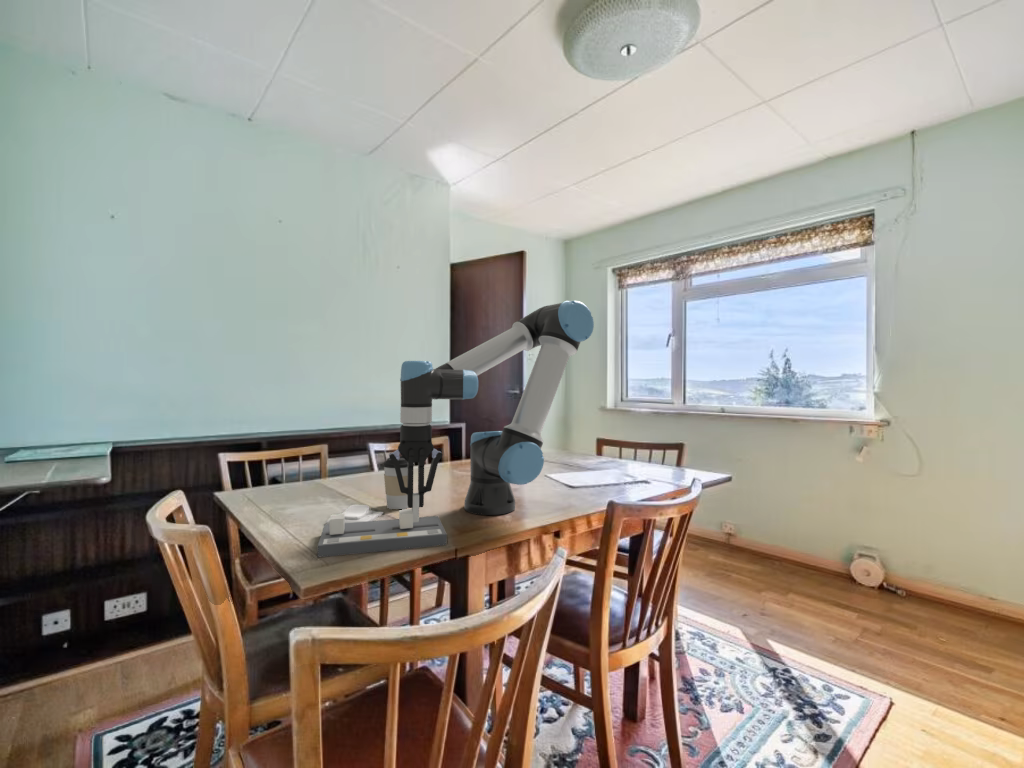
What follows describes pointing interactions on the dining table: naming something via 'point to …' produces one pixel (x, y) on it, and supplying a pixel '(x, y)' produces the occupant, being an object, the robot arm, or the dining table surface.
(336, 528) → the slide switch
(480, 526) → the dining table surface
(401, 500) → the coffee cup
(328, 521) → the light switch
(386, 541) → the switch panel
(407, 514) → the slide switch
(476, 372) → the robot arm
